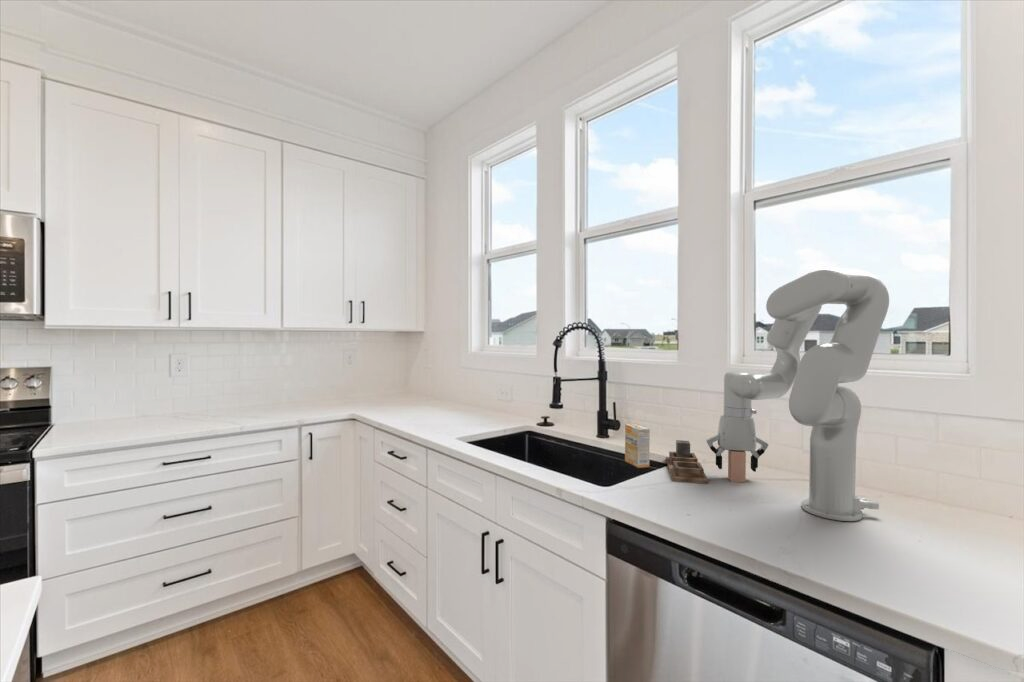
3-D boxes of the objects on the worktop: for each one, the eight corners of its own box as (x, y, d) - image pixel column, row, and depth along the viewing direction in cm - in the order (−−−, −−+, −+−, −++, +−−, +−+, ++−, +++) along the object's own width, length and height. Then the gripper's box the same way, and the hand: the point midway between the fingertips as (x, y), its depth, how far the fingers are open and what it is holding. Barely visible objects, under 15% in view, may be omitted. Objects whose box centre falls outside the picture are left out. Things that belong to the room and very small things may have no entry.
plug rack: (696, 461, 162) (696, 438, 161) (708, 483, 138) (708, 456, 138) (665, 459, 164) (665, 437, 164) (672, 481, 141) (672, 454, 140)
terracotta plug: (742, 478, 144) (742, 449, 143) (745, 482, 140) (745, 452, 139) (728, 477, 144) (728, 448, 144) (731, 481, 141) (731, 451, 140)
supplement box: (624, 461, 162) (624, 423, 161) (636, 460, 163) (636, 423, 163) (637, 468, 154) (637, 428, 154) (650, 467, 155) (650, 427, 155)
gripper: (765, 411, 143) (764, 467, 144) (704, 409, 147) (703, 463, 148) (772, 416, 136) (771, 475, 136) (708, 413, 140) (707, 470, 140)
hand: (736, 469), depth 142 cm, fingers open, 9 cm apart
